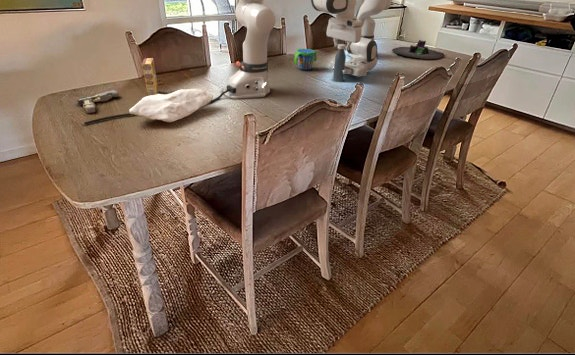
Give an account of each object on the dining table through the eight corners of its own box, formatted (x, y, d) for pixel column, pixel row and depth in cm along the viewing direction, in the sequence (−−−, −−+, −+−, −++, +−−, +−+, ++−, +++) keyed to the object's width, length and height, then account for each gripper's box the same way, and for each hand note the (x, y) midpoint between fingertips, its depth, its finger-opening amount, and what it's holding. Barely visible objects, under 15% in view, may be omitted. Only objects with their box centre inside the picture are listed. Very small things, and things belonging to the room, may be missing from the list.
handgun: (128, 97, 156) (111, 87, 164) (86, 107, 144) (70, 97, 152) (129, 103, 157) (113, 94, 165) (88, 114, 146) (72, 103, 154)
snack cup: (310, 64, 218) (311, 47, 212) (321, 69, 211) (322, 51, 205) (288, 68, 210) (289, 50, 205) (299, 73, 203) (300, 54, 198)
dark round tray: (454, 55, 249) (457, 41, 244) (422, 61, 231) (424, 46, 227) (413, 47, 273) (415, 35, 269) (381, 52, 256) (382, 39, 252)
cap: (336, 48, 186) (337, 45, 185) (338, 47, 189) (338, 43, 188) (344, 49, 185) (345, 46, 184) (346, 47, 188) (346, 44, 187)
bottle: (340, 78, 198) (344, 44, 189) (344, 81, 194) (348, 47, 184) (331, 78, 197) (334, 44, 188) (335, 81, 193) (338, 47, 183)
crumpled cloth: (117, 110, 146) (113, 90, 140) (195, 92, 166) (194, 73, 160) (143, 139, 134) (140, 118, 128) (223, 116, 154) (224, 96, 148)
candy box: (157, 97, 164) (152, 63, 155) (147, 98, 163) (141, 63, 155) (158, 91, 171) (153, 57, 163) (149, 91, 170) (143, 58, 162)
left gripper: (325, 17, 184) (322, 45, 191) (356, 23, 171) (352, 53, 179) (333, 16, 188) (330, 44, 195) (365, 22, 175) (360, 52, 182)
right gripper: (341, 56, 205) (324, 60, 197) (370, 64, 192) (353, 69, 184) (339, 67, 208) (323, 71, 200) (368, 76, 196) (352, 81, 188)
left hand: (341, 48), depth 187 cm, fingers open, 5 cm apart
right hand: (338, 70), depth 192 cm, fingers closed on bottle, 5 cm apart
